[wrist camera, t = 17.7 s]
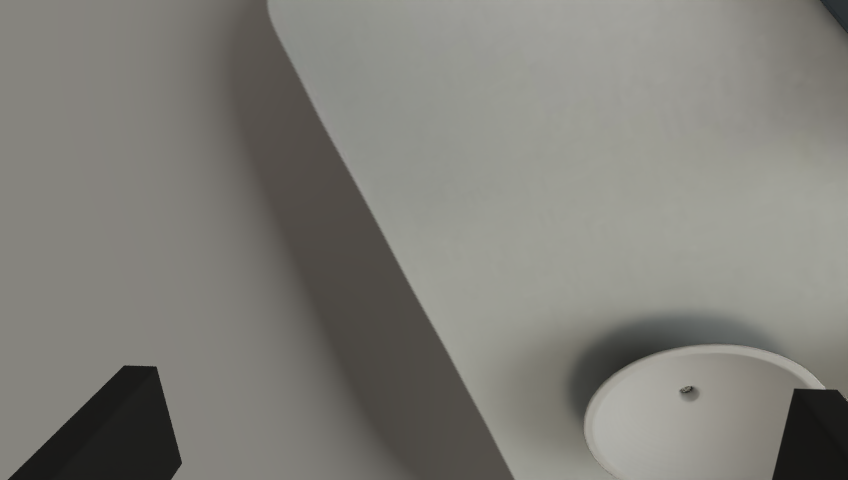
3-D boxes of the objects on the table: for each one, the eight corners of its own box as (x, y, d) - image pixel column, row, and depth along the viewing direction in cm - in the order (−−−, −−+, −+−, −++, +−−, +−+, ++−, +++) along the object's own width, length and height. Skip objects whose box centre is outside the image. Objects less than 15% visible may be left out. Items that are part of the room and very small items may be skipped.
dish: (575, 453, 52) (583, 498, 47) (575, 313, 46) (583, 347, 42) (788, 455, 49) (818, 502, 44) (815, 306, 44) (852, 343, 39)
